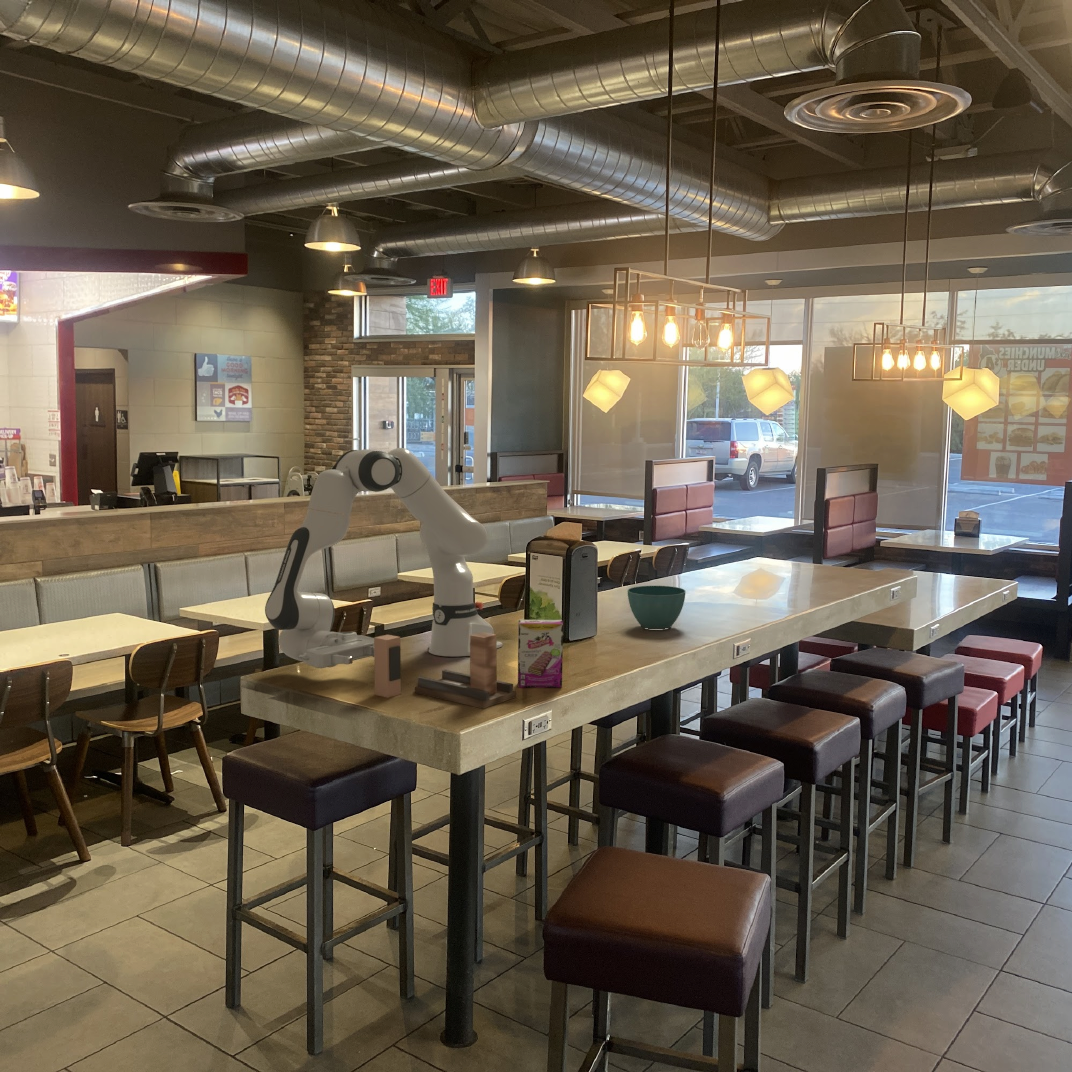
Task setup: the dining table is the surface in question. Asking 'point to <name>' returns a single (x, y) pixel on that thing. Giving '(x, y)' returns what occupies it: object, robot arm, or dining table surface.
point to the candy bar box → (540, 653)
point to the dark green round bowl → (656, 605)
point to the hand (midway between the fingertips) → (365, 657)
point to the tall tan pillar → (387, 665)
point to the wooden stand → (472, 678)
